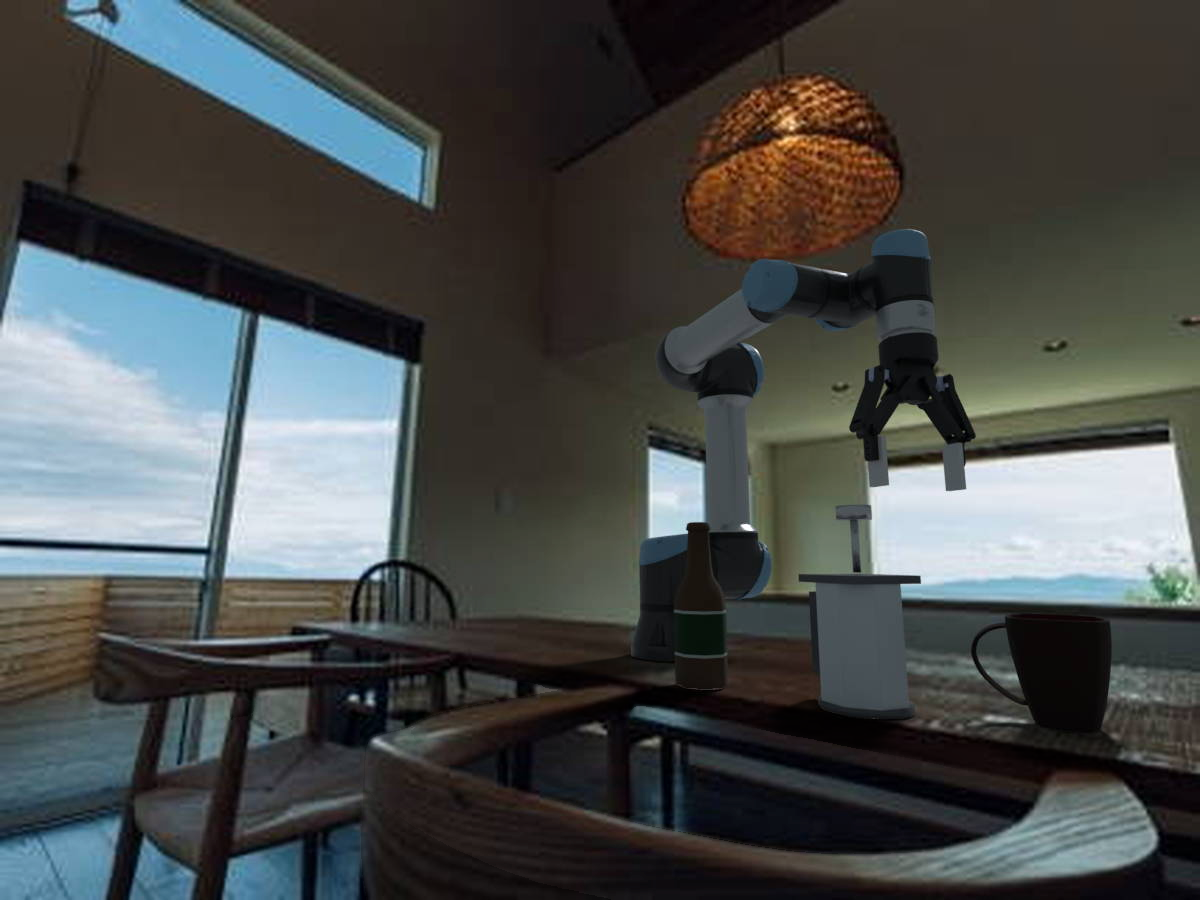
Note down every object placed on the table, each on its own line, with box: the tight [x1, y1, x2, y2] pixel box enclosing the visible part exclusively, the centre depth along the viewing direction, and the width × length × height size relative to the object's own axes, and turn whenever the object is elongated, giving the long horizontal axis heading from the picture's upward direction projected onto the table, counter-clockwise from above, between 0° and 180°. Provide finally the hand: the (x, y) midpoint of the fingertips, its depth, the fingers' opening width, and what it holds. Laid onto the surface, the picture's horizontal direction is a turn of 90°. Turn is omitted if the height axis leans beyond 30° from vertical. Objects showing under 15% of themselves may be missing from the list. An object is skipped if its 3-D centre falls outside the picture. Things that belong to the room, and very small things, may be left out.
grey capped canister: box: [798, 573, 922, 720], centre depth 84 cm, size 14×11×16 cm
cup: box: [970, 612, 1113, 735], centre depth 75 cm, size 10×14×12 cm
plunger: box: [834, 504, 873, 574], centre depth 85 cm, size 4×4×9 cm
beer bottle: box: [674, 521, 729, 689], centre depth 97 cm, size 8×8×24 cm
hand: (918, 488), depth 88 cm, fingers open, 13 cm apart
